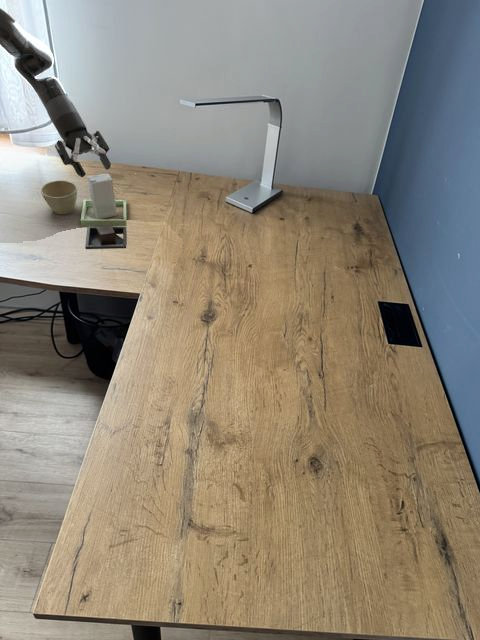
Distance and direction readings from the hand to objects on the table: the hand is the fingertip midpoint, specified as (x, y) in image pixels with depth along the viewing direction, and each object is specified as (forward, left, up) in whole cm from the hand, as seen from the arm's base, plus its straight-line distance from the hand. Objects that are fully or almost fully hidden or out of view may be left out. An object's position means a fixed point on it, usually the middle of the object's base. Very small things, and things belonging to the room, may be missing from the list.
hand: (96, 172), depth 143 cm
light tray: (+1, -1, -14) cm, 14 cm away
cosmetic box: (+1, -1, -13) cm, 13 cm away
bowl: (-11, +3, -14) cm, 18 cm away
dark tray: (+2, -16, -14) cm, 21 cm away
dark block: (+2, -16, -13) cm, 21 cm away
